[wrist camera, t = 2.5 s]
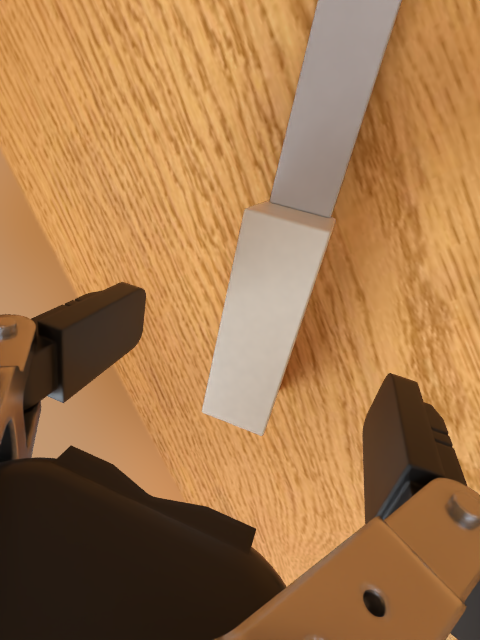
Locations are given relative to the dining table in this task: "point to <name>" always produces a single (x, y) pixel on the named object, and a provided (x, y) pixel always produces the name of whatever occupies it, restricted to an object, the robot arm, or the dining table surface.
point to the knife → (296, 211)
